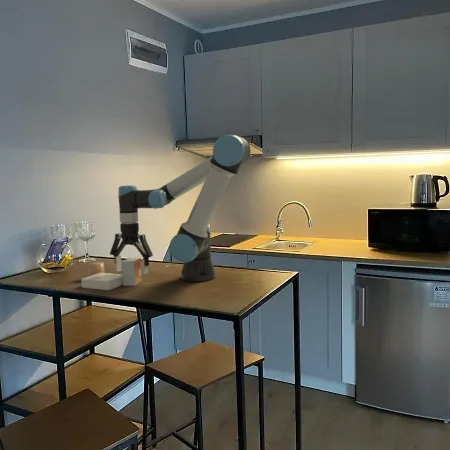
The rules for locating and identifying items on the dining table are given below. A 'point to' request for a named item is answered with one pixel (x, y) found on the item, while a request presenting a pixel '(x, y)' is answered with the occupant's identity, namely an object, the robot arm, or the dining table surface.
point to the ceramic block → (102, 281)
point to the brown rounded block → (95, 268)
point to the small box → (131, 271)
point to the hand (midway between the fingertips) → (132, 272)
